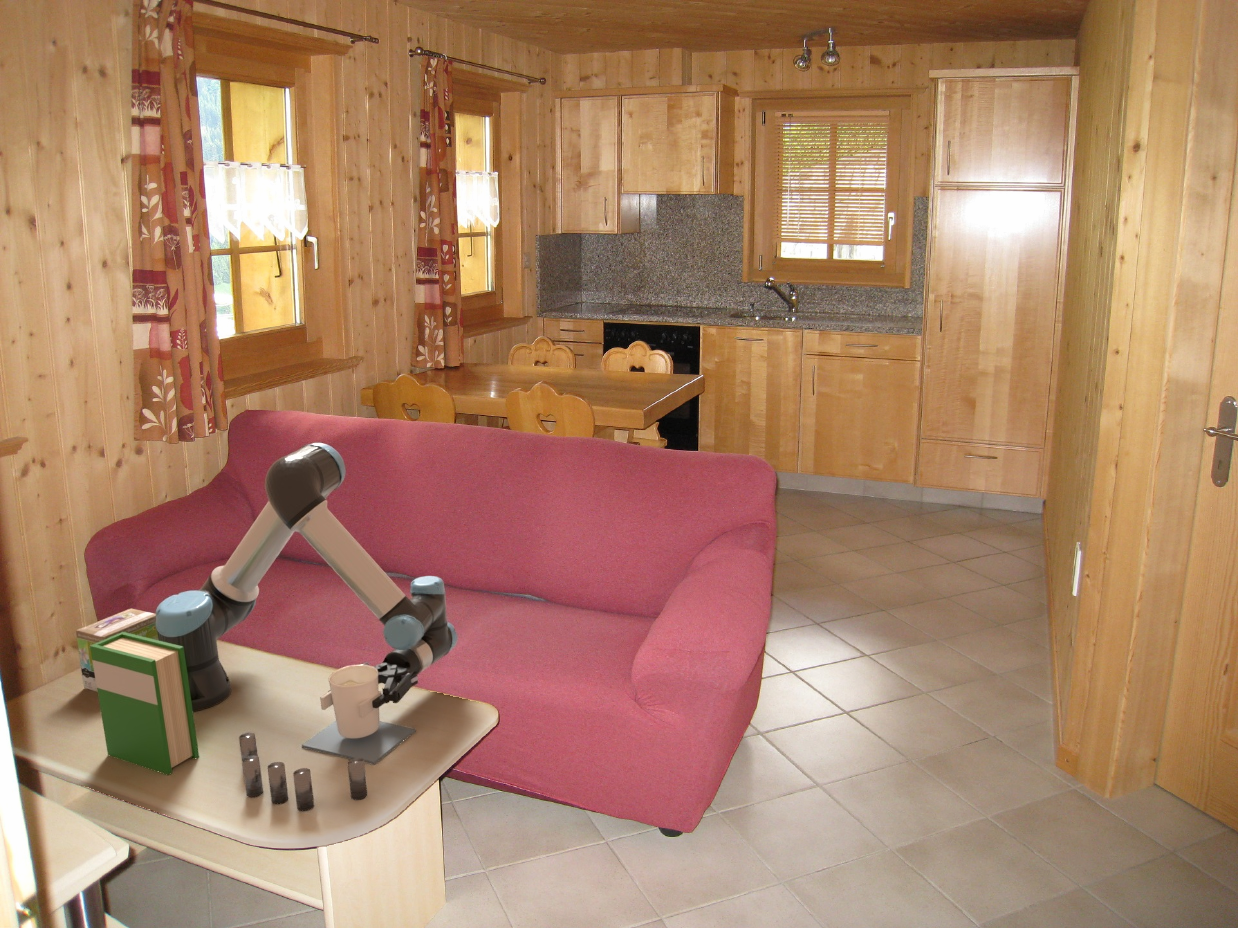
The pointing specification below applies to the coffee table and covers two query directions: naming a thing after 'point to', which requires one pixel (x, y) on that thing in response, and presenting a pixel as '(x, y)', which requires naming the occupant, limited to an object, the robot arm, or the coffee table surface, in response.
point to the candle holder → (354, 699)
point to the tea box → (106, 628)
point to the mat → (360, 742)
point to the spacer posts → (300, 776)
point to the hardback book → (145, 701)
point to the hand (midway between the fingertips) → (341, 707)
